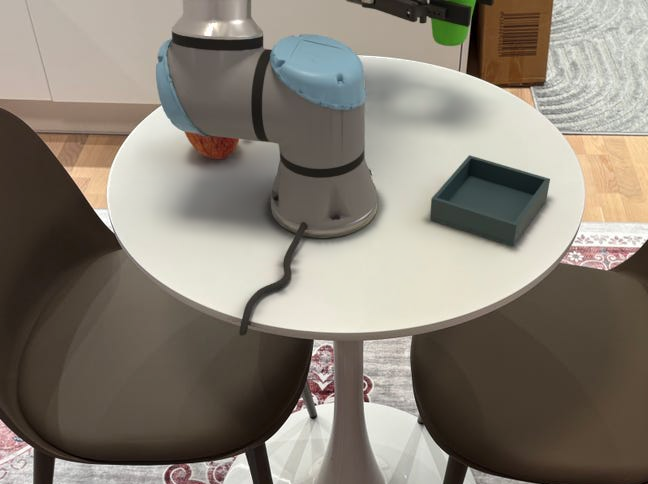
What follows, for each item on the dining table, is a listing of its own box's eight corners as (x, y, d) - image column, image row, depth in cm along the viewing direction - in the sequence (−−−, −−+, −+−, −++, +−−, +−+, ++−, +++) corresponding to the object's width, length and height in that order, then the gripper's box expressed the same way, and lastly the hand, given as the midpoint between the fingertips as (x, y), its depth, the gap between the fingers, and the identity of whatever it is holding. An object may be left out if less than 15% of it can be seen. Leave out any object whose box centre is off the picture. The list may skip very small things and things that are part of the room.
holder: (513, 246, 115) (516, 225, 113) (429, 219, 120) (431, 198, 117) (546, 199, 123) (550, 178, 121) (467, 175, 127) (469, 154, 125)
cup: (409, 43, 131) (412, -31, 123) (438, 21, 136) (442, -51, 128) (461, 57, 127) (468, -17, 119) (488, 34, 133) (496, -38, 125)
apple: (184, 169, 128) (174, 109, 121) (190, 138, 135) (180, 79, 127) (244, 168, 129) (237, 108, 121) (247, 136, 135) (240, 77, 128)
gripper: (381, -23, 143) (506, 6, 135) (316, 23, 130) (449, 58, 122) (382, -70, 137) (512, -43, 129) (314, -27, 125) (453, 6, 117)
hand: (481, 6), depth 126 cm, fingers closed on cup, 8 cm apart
